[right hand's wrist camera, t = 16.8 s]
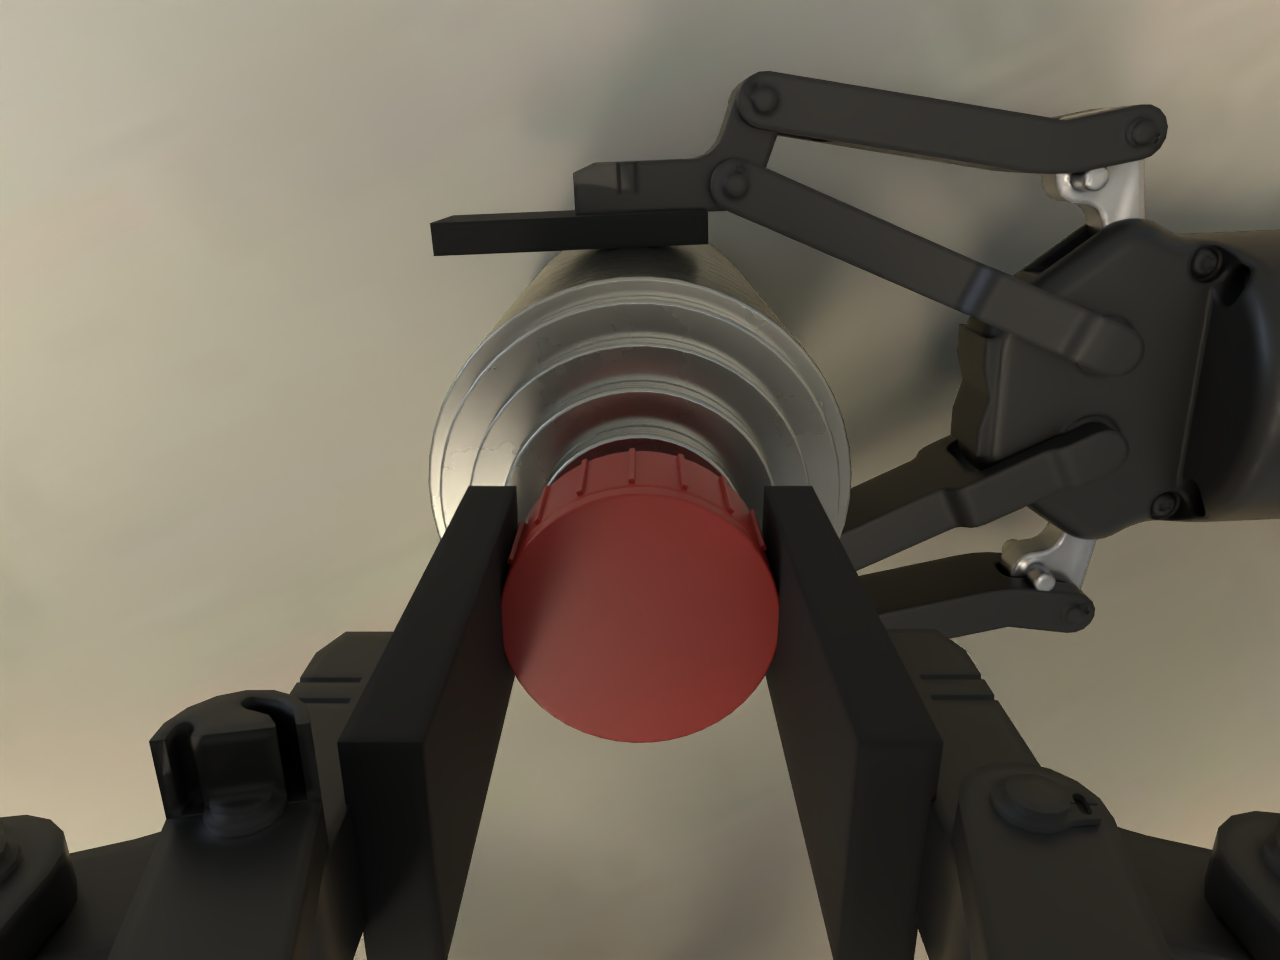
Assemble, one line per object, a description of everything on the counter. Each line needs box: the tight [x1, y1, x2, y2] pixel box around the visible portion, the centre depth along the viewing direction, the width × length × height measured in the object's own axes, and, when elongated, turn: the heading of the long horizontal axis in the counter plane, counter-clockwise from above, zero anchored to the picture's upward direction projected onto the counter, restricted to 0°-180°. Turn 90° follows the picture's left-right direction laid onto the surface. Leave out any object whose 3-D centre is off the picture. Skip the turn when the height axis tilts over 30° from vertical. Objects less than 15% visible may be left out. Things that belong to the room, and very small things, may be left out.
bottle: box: [429, 244, 851, 540], centre depth 21 cm, size 8×8×18 cm
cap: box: [501, 448, 779, 743], centre depth 14 cm, size 4×4×2 cm
